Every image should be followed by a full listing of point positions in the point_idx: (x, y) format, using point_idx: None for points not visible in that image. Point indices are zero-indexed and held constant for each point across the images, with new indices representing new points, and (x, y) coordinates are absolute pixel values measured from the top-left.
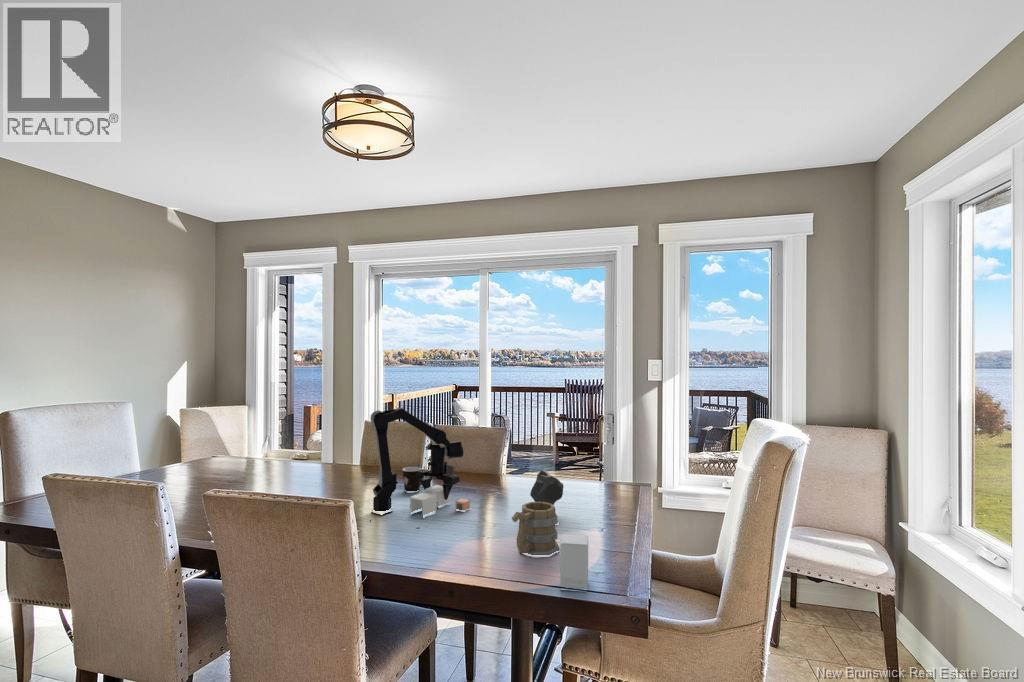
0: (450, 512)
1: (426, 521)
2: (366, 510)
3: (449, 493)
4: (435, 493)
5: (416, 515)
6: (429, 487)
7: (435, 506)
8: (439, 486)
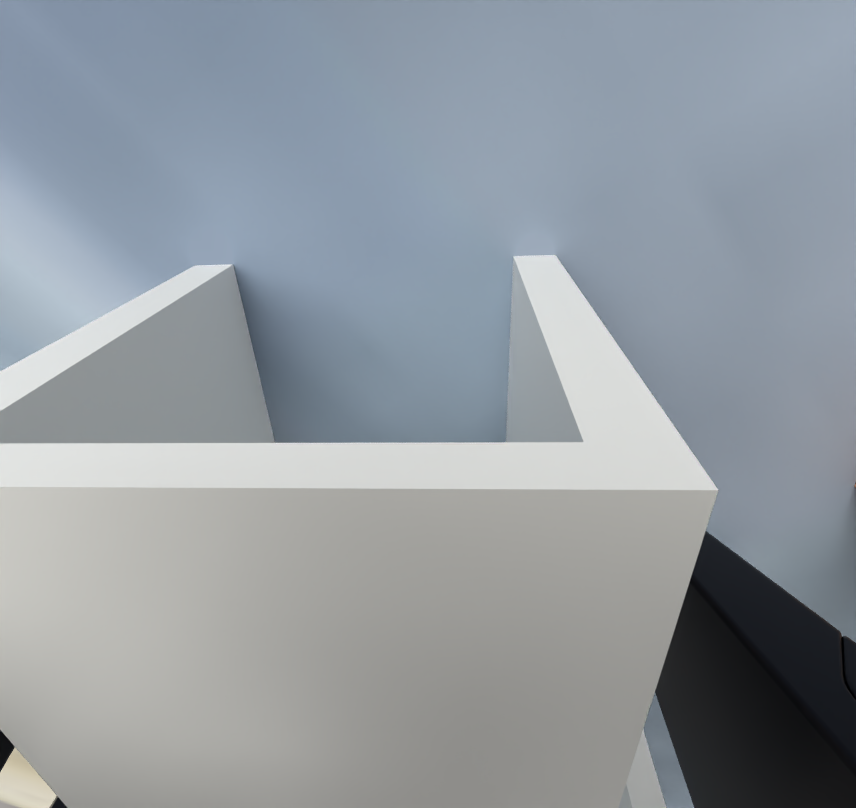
0: (794, 558)
1: (666, 796)
2: (11, 793)
3: (617, 366)
4: (148, 431)
5: None
6: (37, 765)
7: (647, 759)
8: (132, 578)
